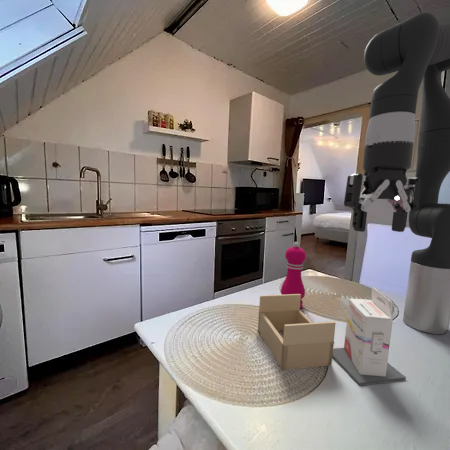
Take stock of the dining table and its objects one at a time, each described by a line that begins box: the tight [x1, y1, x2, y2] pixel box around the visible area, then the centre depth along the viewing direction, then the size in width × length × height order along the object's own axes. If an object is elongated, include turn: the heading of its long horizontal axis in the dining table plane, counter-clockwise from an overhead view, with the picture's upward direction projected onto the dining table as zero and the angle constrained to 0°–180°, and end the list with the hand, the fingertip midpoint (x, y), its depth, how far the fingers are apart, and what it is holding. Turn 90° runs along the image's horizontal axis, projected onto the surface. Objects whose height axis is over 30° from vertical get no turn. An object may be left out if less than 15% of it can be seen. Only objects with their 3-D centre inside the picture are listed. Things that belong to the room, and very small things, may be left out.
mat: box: [332, 347, 407, 386], centre depth 51 cm, size 10×10×1 cm
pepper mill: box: [280, 241, 307, 310], centre depth 77 cm, size 7×7×20 cm
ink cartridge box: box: [343, 286, 394, 377], centre depth 50 cm, size 9×5×15 cm, turn 175°
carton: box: [257, 294, 336, 371], centre depth 56 cm, size 11×15×9 cm
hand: (378, 231), depth 48 cm, fingers open, 8 cm apart
